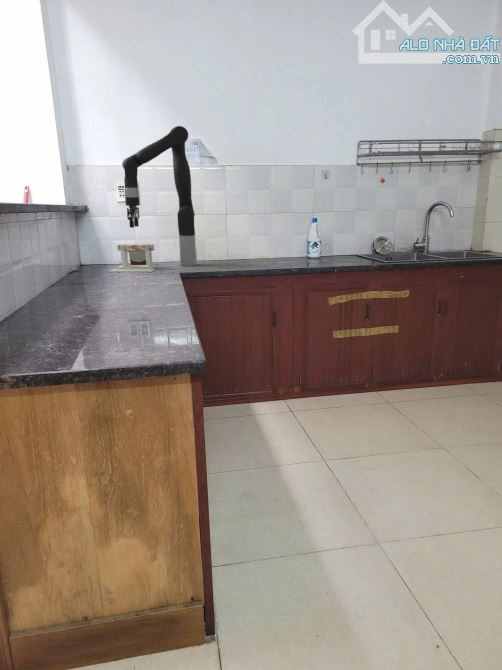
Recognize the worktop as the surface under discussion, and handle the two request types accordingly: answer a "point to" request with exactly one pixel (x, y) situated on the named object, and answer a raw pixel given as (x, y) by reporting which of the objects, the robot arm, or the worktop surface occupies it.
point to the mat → (132, 270)
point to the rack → (125, 265)
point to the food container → (137, 257)
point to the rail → (136, 247)
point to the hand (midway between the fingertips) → (134, 227)
